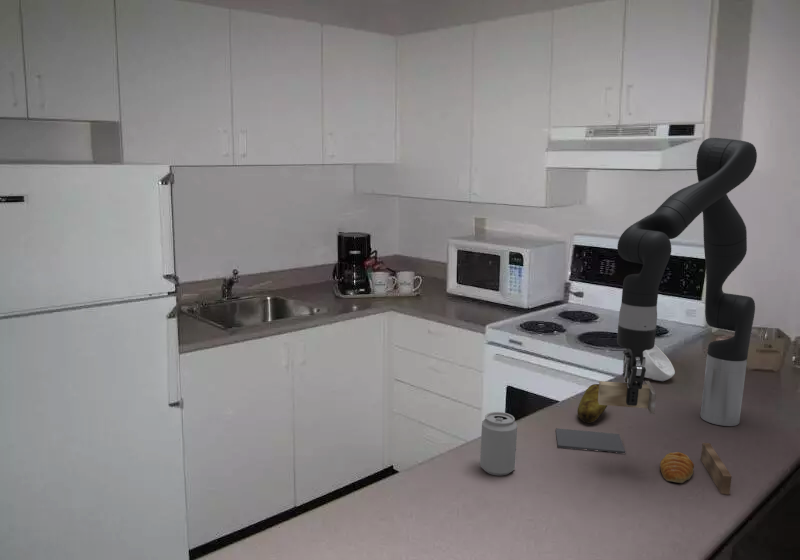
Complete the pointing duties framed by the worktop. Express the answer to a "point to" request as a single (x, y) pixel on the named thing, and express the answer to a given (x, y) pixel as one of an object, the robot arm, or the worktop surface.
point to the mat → (589, 440)
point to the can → (498, 443)
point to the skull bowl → (657, 365)
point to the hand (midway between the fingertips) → (630, 401)
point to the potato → (590, 405)
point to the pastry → (676, 467)
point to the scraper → (618, 392)
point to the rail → (716, 468)
